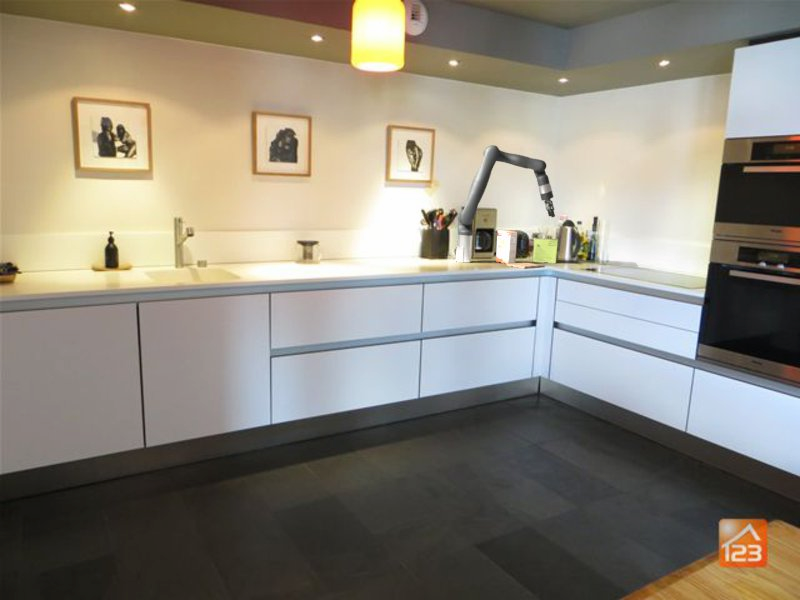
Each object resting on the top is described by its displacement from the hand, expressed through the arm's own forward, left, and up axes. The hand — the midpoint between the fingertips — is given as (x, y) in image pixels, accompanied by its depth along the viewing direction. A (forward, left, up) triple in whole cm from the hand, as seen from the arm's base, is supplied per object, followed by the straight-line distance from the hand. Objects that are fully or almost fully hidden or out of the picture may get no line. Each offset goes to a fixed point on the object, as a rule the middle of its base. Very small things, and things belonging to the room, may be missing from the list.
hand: (551, 216), depth 368 cm
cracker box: (-20, +19, -31) cm, 42 cm away
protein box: (+15, +13, -31) cm, 37 cm away
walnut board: (-21, +2, -31) cm, 38 cm away
